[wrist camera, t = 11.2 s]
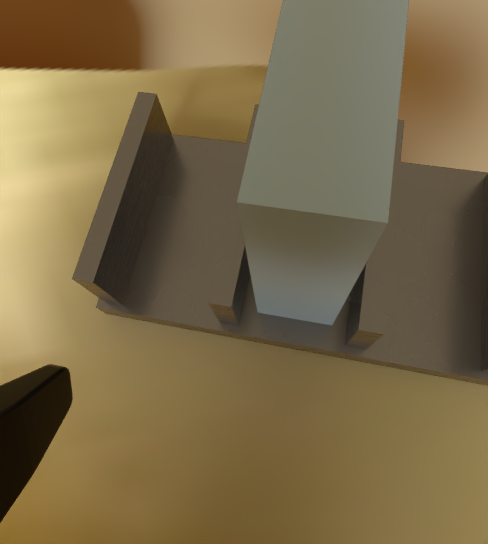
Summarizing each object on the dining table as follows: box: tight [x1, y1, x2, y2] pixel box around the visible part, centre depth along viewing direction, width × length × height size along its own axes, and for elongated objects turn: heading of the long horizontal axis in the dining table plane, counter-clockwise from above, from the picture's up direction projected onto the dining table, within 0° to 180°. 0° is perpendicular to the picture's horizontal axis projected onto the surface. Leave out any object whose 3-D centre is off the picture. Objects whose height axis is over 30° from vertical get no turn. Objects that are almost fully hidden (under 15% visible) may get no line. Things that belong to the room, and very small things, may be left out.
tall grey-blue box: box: [237, 0, 409, 325], centre depth 14 cm, size 7×3×9 cm, turn 169°
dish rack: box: [72, 92, 488, 385], centre depth 17 cm, size 9×16×4 cm, turn 79°
